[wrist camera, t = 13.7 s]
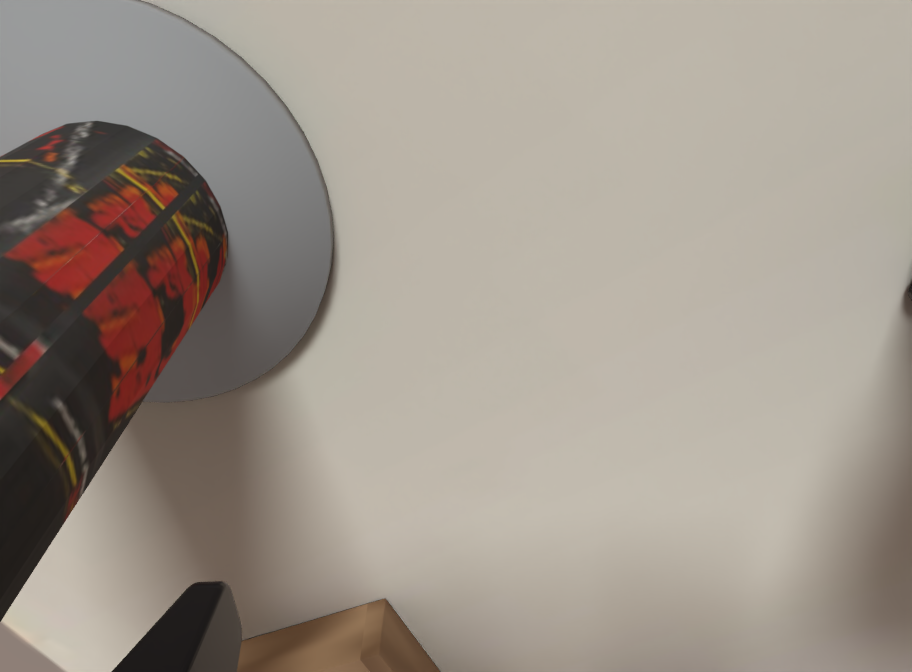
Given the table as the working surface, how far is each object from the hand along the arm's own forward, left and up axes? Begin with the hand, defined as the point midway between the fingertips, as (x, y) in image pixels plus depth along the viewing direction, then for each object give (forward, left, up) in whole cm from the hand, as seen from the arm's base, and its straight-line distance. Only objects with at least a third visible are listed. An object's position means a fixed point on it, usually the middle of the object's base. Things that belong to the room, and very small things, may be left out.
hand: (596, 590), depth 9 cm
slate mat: (+11, +3, -13) cm, 17 cm away
